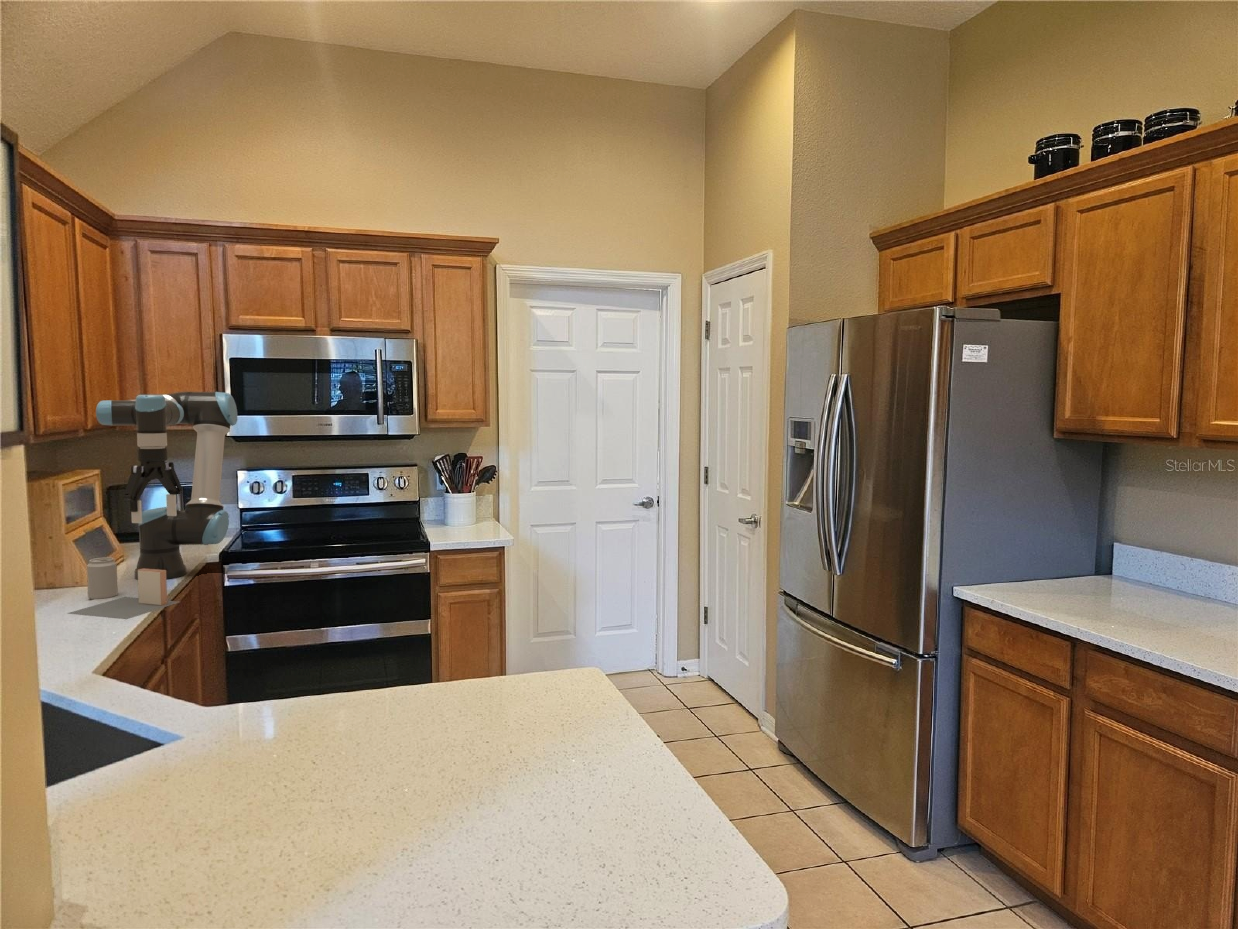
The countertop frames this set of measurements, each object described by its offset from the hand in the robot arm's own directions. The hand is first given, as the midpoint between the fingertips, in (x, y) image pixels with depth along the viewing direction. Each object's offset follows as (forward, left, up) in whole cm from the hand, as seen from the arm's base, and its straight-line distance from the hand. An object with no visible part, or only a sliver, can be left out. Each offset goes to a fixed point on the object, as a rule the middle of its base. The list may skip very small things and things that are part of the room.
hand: (154, 519), depth 229 cm
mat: (+9, -2, -25) cm, 27 cm away
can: (+1, -19, -25) cm, 31 cm away
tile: (+4, +2, -24) cm, 25 cm away
